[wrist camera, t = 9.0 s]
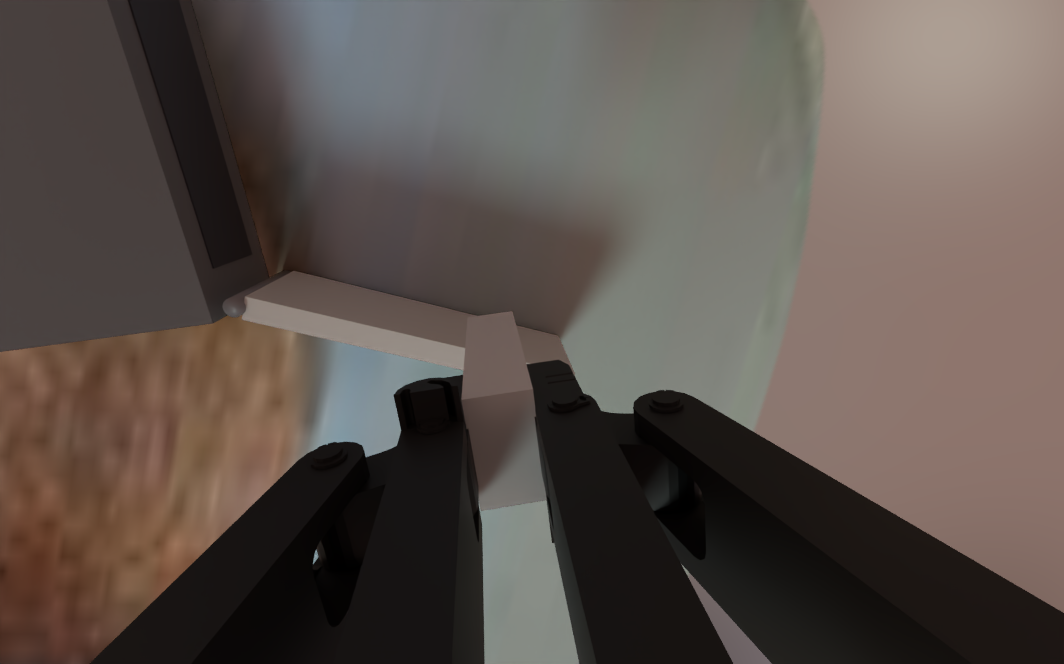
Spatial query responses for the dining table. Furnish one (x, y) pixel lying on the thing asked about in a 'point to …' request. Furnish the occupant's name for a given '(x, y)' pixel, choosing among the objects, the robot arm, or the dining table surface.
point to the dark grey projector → (114, 175)
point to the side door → (372, 319)
